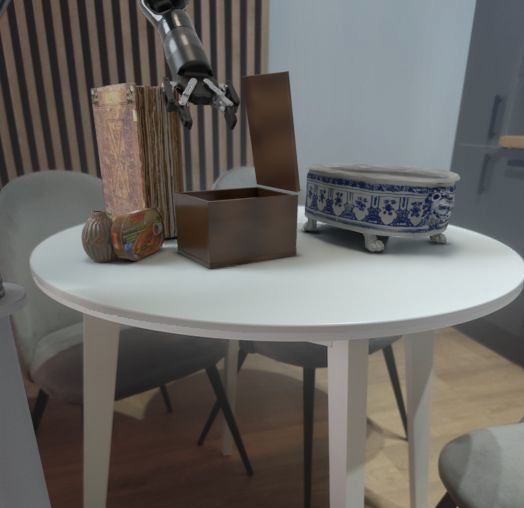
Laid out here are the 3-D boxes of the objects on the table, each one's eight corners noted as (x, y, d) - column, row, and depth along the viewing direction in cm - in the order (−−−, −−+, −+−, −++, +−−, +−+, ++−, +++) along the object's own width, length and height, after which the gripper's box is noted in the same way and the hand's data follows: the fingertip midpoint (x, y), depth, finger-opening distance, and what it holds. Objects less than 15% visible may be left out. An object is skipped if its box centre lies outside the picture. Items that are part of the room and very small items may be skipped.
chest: (210, 269, 87) (207, 202, 82) (177, 252, 98) (173, 192, 93) (296, 255, 97) (298, 194, 92) (258, 241, 107) (258, 186, 102)
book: (187, 238, 109) (179, 84, 97) (147, 243, 104) (133, 81, 92) (141, 220, 128) (129, 89, 115) (106, 223, 123) (90, 87, 111)
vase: (76, 262, 90) (69, 213, 87) (98, 253, 96) (92, 207, 93) (109, 265, 89) (103, 215, 85) (130, 256, 95) (125, 209, 91)
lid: (284, 71, 82) (288, 70, 82) (241, 76, 92) (245, 75, 92) (296, 192, 91) (300, 191, 92) (256, 184, 102) (260, 183, 102)
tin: (126, 265, 89) (121, 217, 85) (111, 264, 90) (105, 216, 86) (167, 247, 102) (164, 205, 98) (153, 246, 102) (150, 204, 99)
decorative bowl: (271, 226, 123) (272, 161, 116) (353, 216, 135) (358, 158, 129) (397, 266, 90) (408, 179, 84) (489, 249, 103) (505, 173, 96)
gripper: (154, 39, 89) (179, 110, 85) (226, 45, 96) (253, 111, 91) (148, 75, 96) (171, 142, 92) (216, 78, 102) (240, 141, 98)
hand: (212, 126), depth 91 cm, fingers open, 8 cm apart
